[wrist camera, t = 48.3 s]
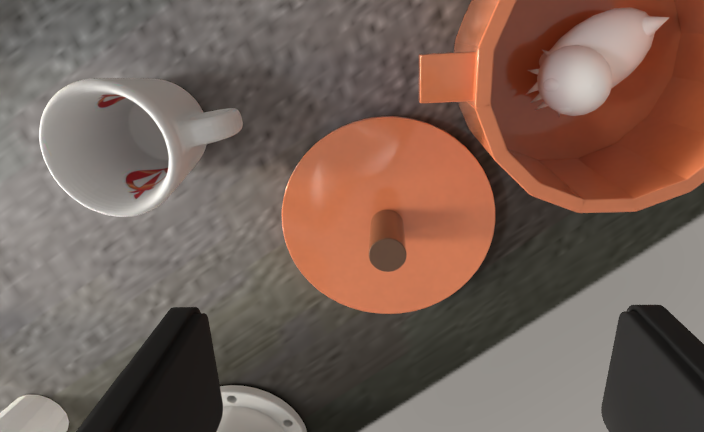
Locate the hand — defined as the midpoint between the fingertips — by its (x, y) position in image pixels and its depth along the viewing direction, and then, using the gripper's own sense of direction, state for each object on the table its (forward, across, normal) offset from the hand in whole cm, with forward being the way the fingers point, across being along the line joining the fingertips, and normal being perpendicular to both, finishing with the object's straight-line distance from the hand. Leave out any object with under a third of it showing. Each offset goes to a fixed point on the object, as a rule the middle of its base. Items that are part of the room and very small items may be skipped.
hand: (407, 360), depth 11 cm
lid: (+23, 0, +6) cm, 24 cm away
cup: (+24, +14, -2) cm, 28 cm away
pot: (+24, -12, -5) cm, 27 cm away
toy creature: (+23, -12, -5) cm, 27 cm away
